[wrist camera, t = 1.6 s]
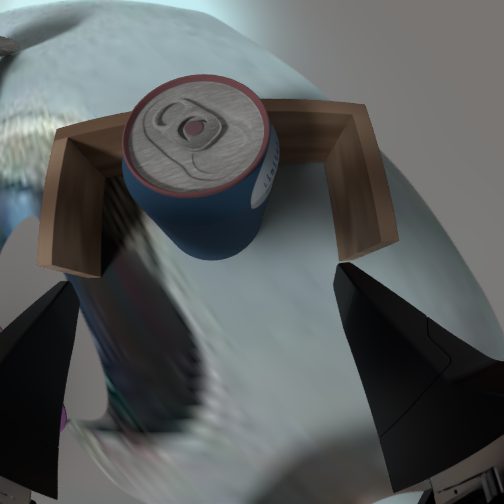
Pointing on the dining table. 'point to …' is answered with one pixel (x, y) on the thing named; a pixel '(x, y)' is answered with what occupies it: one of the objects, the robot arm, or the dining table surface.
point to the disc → (7, 46)
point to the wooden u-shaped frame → (290, 150)
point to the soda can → (202, 163)
